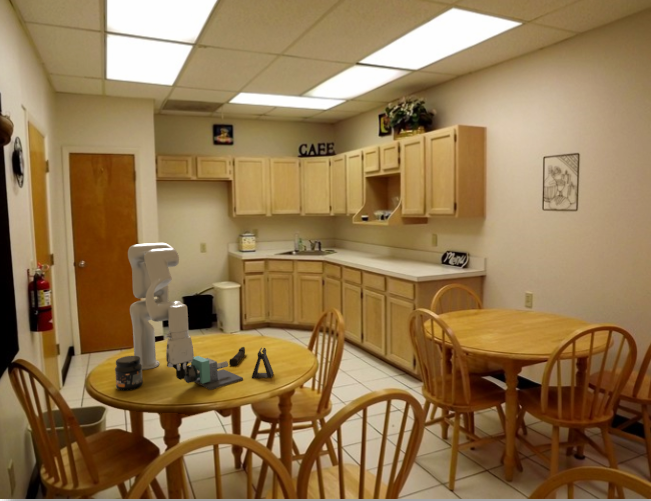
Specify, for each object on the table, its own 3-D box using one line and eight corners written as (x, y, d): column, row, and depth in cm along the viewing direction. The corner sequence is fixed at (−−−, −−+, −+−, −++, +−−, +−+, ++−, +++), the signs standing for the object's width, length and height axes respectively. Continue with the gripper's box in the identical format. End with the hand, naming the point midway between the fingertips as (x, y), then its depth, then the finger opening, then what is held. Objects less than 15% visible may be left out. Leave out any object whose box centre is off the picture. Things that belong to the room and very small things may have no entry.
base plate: (191, 380, 204) (191, 378, 204) (223, 371, 215) (223, 369, 215) (210, 389, 193) (210, 387, 192) (243, 379, 204) (242, 377, 203)
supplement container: (111, 387, 197) (110, 359, 196) (135, 380, 205) (134, 353, 204) (123, 393, 190) (121, 364, 189) (147, 386, 198) (146, 358, 197)
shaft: (183, 380, 196) (182, 364, 196) (222, 369, 210) (222, 354, 209) (191, 385, 191) (190, 368, 191) (231, 373, 204) (230, 357, 204)
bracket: (199, 379, 202) (199, 359, 202) (208, 376, 205) (207, 357, 205) (209, 383, 197) (208, 364, 196) (217, 381, 199) (217, 361, 199)
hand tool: (237, 366, 222) (237, 357, 222) (229, 366, 223) (228, 356, 222) (249, 355, 241) (249, 346, 240) (242, 354, 241) (241, 345, 241)
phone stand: (251, 378, 205) (250, 351, 204) (253, 373, 211) (253, 347, 210) (271, 378, 205) (271, 351, 204) (273, 373, 211) (273, 347, 210)
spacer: (191, 378, 200) (190, 357, 200) (199, 376, 203) (198, 355, 202) (202, 383, 194) (201, 362, 193) (210, 381, 196) (209, 360, 195)
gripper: (165, 339, 183) (167, 385, 184) (200, 332, 193) (201, 376, 194) (157, 336, 188) (159, 380, 190) (191, 329, 198) (193, 372, 200)
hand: (180, 378), depth 192 cm, fingers closed
